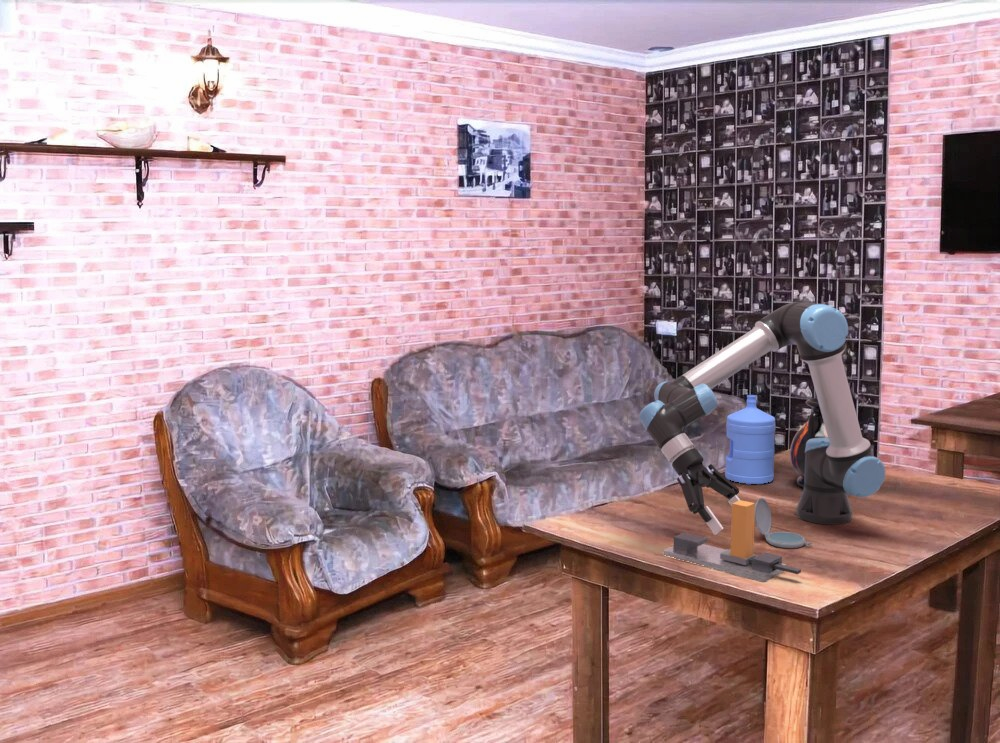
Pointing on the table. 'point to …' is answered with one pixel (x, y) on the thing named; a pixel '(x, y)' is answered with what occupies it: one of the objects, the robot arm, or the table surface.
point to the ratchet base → (699, 553)
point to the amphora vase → (806, 438)
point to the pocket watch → (776, 537)
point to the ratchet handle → (745, 537)
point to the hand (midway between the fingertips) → (733, 525)
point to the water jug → (750, 445)
